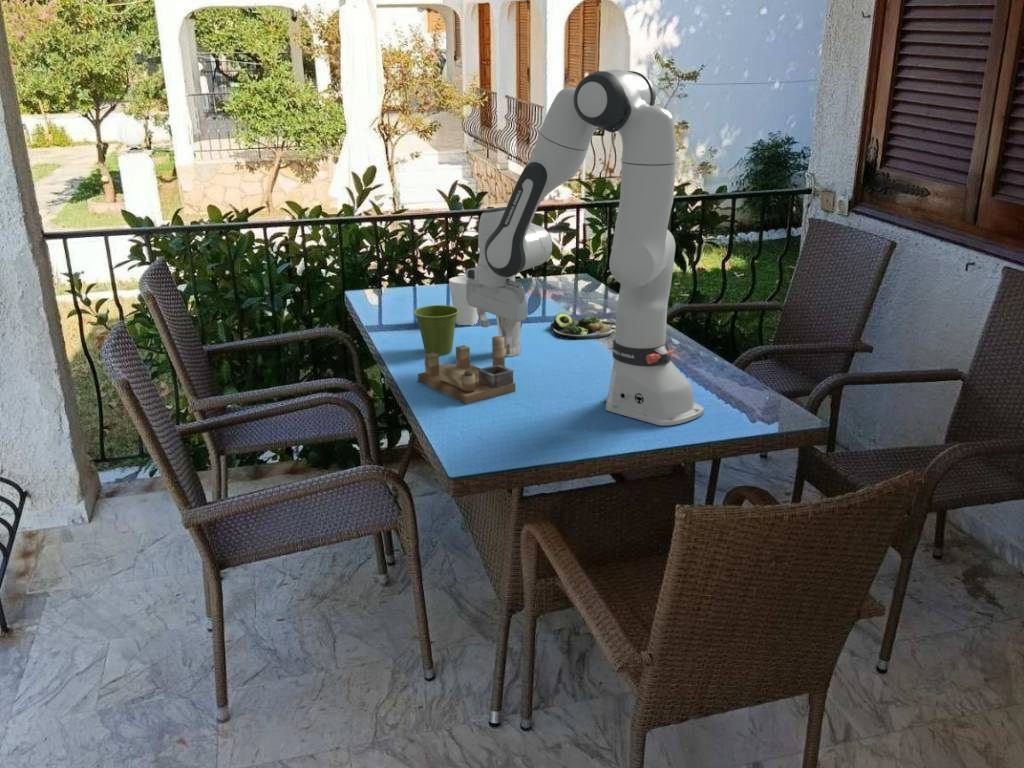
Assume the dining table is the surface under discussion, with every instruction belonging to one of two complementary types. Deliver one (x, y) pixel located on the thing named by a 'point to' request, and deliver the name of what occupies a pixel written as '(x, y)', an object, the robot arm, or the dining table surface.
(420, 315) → the plant pot
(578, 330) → the salad plate
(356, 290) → the dining table surface
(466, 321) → the foam cup
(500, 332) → the beer glass
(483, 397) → the wooden assembly base board
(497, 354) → the oak leg peg
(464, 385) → the hinged leg
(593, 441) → the dining table surface
